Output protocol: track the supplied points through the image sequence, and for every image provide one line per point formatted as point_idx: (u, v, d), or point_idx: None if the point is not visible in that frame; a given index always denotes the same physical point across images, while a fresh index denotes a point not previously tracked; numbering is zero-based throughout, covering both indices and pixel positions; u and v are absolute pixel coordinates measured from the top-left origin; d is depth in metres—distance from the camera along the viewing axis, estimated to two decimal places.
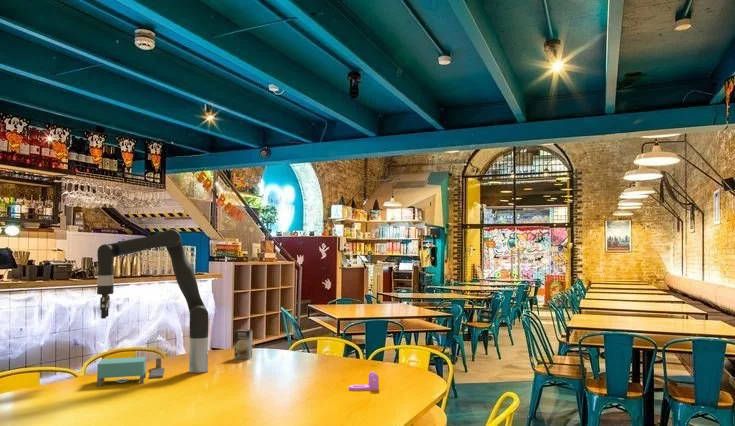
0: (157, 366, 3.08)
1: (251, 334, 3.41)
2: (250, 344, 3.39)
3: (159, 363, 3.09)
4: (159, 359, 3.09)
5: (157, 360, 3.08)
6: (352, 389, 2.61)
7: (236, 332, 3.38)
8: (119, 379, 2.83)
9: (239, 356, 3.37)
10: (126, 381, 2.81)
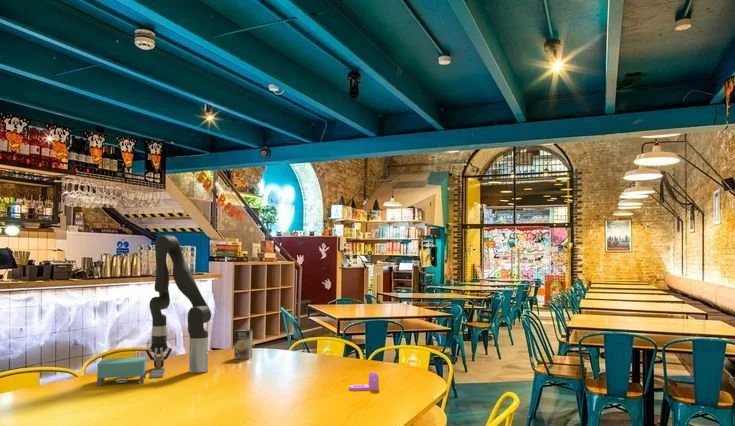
0: (157, 366, 3.08)
1: (251, 334, 3.41)
2: (250, 344, 3.39)
3: (159, 363, 3.09)
4: (159, 359, 3.09)
5: (157, 360, 3.08)
6: (352, 389, 2.61)
7: (236, 332, 3.38)
8: (119, 379, 2.83)
9: (239, 356, 3.37)
10: (126, 381, 2.81)
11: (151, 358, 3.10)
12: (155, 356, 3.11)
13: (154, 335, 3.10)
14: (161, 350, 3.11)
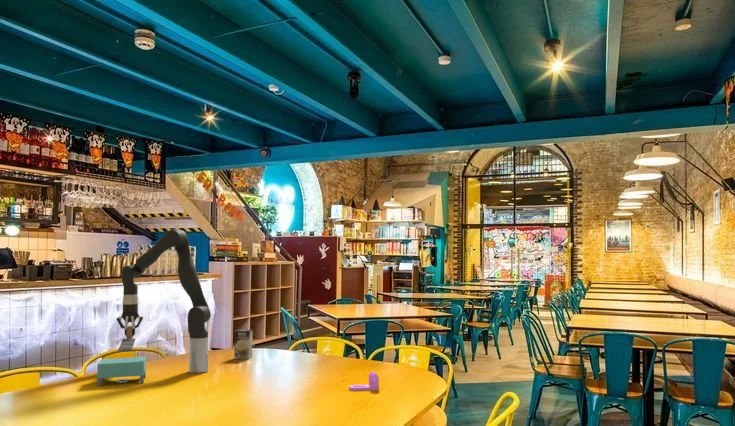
0: (128, 336, 3.10)
1: (251, 334, 3.41)
2: (250, 344, 3.39)
3: (130, 334, 3.10)
4: (130, 330, 3.10)
5: (128, 331, 3.10)
6: (352, 389, 2.61)
7: (236, 332, 3.38)
8: (119, 379, 2.83)
9: (239, 356, 3.37)
10: (126, 381, 2.81)
11: (122, 326, 3.12)
12: (126, 324, 3.12)
13: (125, 303, 3.11)
14: (132, 318, 3.13)
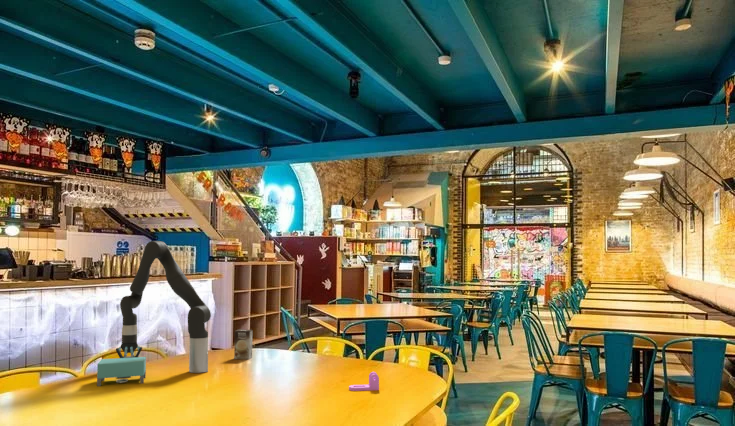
0: None
1: (251, 334, 3.41)
2: (250, 344, 3.39)
3: None
4: None
5: None
6: (352, 389, 2.61)
7: (236, 332, 3.38)
8: (119, 379, 2.83)
9: (239, 356, 3.37)
10: (126, 381, 2.81)
11: (121, 357, 3.11)
12: (125, 355, 3.11)
13: (124, 334, 3.10)
14: (131, 349, 3.12)
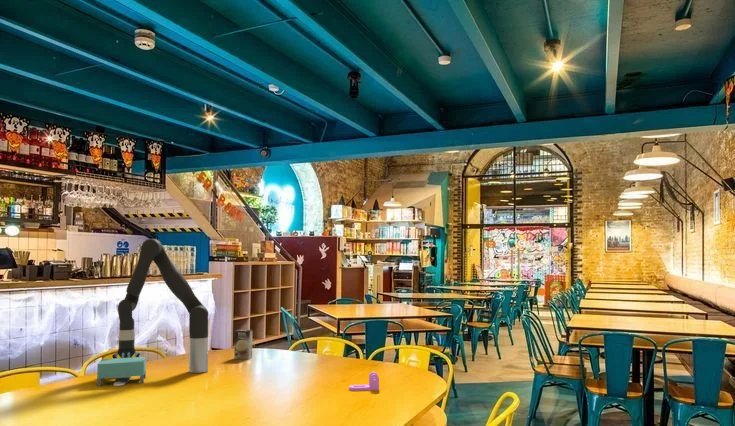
0: None
1: (251, 334, 3.41)
2: (250, 344, 3.39)
3: None
4: None
5: None
6: (352, 389, 2.61)
7: (236, 332, 3.38)
8: (117, 382, 2.75)
9: (239, 356, 3.37)
10: (123, 384, 2.73)
11: None
12: None
13: (121, 339, 2.96)
14: (128, 355, 2.97)
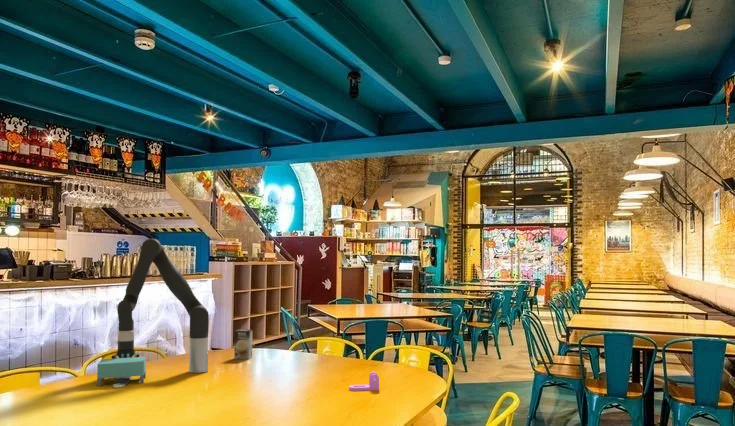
0: None
1: (251, 334, 3.41)
2: (250, 344, 3.39)
3: None
4: None
5: None
6: (352, 389, 2.61)
7: (236, 332, 3.38)
8: (116, 384, 2.73)
9: (239, 356, 3.37)
10: (122, 386, 2.71)
11: None
12: None
13: (120, 340, 2.93)
14: (128, 356, 2.94)
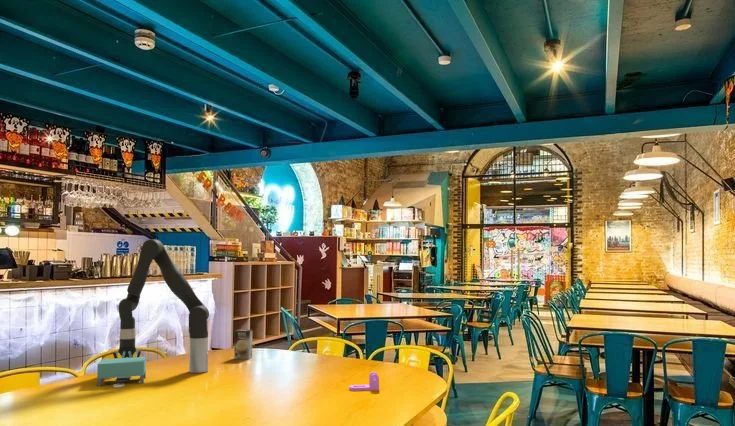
0: None
1: (251, 334, 3.41)
2: (250, 344, 3.39)
3: None
4: None
5: None
6: (352, 389, 2.61)
7: (236, 332, 3.38)
8: (116, 384, 2.73)
9: (239, 356, 3.37)
10: (122, 386, 2.71)
11: None
12: None
13: (122, 338, 3.00)
14: (129, 353, 3.01)
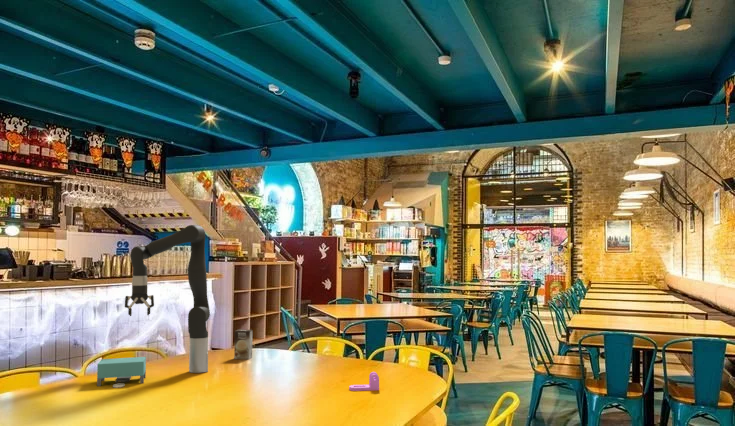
0: None
1: (251, 334, 3.41)
2: (250, 344, 3.39)
3: None
4: None
5: None
6: (352, 389, 2.61)
7: (236, 332, 3.38)
8: (116, 384, 2.73)
9: (239, 356, 3.37)
10: (122, 386, 2.71)
11: (126, 306, 3.08)
12: (131, 304, 3.09)
13: (134, 284, 3.08)
14: (142, 299, 3.10)
